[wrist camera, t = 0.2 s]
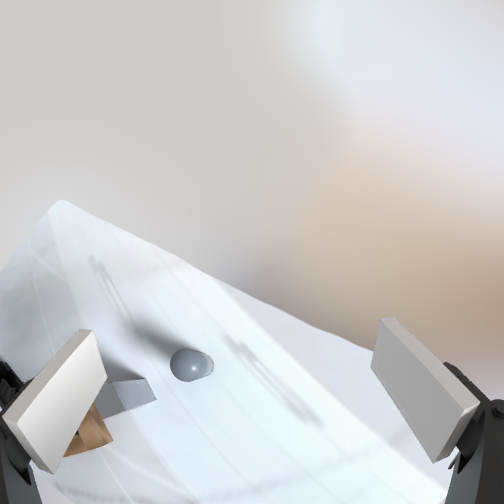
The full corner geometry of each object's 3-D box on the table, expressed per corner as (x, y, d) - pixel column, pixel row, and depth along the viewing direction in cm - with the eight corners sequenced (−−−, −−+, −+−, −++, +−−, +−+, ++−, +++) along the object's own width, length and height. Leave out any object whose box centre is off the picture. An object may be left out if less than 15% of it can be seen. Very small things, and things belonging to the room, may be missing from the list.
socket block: (113, 440, 38) (101, 446, 33) (69, 453, 35) (56, 459, 31) (84, 381, 42) (70, 381, 37) (43, 399, 39) (29, 399, 34)
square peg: (156, 399, 42) (125, 410, 29) (137, 407, 41) (102, 419, 28) (145, 378, 43) (112, 381, 30) (127, 387, 42) (89, 391, 29)
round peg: (218, 370, 44) (209, 372, 31) (197, 380, 43) (179, 387, 30) (206, 349, 46) (193, 343, 33) (185, 359, 45) (164, 357, 32)
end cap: (-4, 383, 38) (-23, 381, 32) (5, 360, 41) (-15, 357, 34) (20, 414, 37) (1, 415, 30) (30, 390, 39) (9, 390, 33)
